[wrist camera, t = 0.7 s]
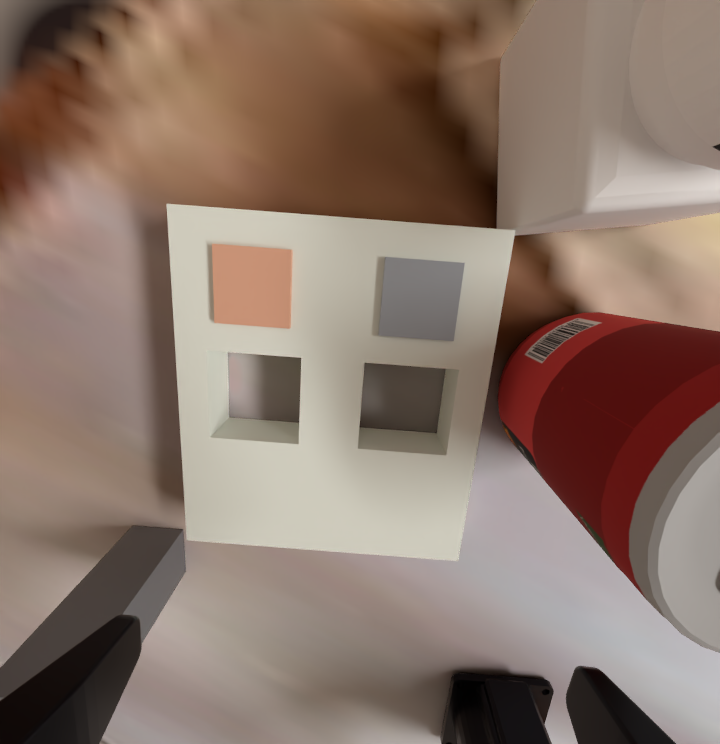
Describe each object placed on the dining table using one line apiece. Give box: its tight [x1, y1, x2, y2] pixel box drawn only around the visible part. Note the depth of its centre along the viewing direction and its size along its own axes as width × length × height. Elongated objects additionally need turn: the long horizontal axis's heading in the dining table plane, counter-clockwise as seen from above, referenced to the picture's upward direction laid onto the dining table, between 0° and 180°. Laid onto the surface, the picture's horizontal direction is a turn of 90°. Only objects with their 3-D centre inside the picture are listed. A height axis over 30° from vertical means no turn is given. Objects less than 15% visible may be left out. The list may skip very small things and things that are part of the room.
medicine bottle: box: [497, 0, 720, 235], centre depth 10 cm, size 7×7×12 cm
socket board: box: [167, 204, 515, 561], centre depth 18 cm, size 16×14×3 cm
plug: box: [0, 526, 186, 700], centre depth 17 cm, size 3×3×10 cm
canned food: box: [498, 313, 720, 653], centre depth 14 cm, size 8×8×11 cm
